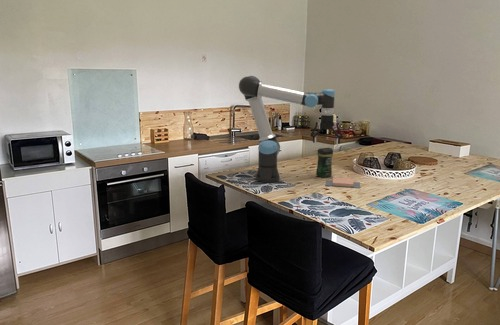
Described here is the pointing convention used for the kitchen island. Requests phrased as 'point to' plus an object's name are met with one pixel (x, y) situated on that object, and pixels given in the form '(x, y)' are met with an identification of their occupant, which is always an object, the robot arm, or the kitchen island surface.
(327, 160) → the coffee jar
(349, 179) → the tile
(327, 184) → the mat
